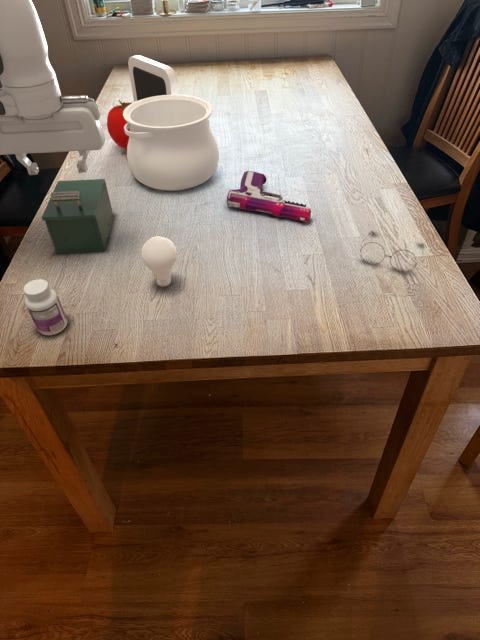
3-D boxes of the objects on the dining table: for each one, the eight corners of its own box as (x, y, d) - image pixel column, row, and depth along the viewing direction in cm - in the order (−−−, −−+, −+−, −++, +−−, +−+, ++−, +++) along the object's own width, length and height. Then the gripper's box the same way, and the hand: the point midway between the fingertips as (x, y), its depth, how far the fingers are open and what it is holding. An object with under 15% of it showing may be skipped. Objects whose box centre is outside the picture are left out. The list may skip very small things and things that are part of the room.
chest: (105, 251, 99) (95, 216, 93) (56, 253, 99) (43, 218, 92) (113, 215, 109) (105, 182, 103) (69, 217, 109) (58, 184, 103)
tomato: (154, 154, 133) (147, 107, 124) (112, 158, 131) (102, 111, 122) (152, 138, 141) (145, 93, 132) (112, 142, 139) (102, 97, 130)
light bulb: (180, 273, 93) (174, 228, 86) (181, 294, 89) (175, 248, 81) (148, 276, 93) (139, 230, 85) (147, 297, 88) (138, 251, 80)
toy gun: (322, 196, 114) (306, 228, 105) (244, 181, 120) (222, 210, 110) (324, 183, 112) (307, 214, 102) (244, 168, 117) (221, 196, 108)
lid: (94, 218, 92) (89, 197, 89) (42, 220, 92) (34, 199, 88) (105, 182, 103) (100, 162, 100) (58, 184, 103) (52, 164, 99)
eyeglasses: (369, 233, 103) (373, 213, 99) (425, 246, 99) (432, 227, 95) (355, 260, 96) (359, 240, 92) (415, 276, 92) (422, 256, 88)
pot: (169, 206, 112) (160, 139, 100) (111, 175, 124) (96, 112, 112) (239, 170, 125) (238, 107, 113) (180, 145, 137) (174, 86, 125)
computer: (168, 71, 118) (176, 69, 119) (125, 54, 130) (133, 52, 131) (176, 152, 133) (184, 150, 135) (138, 131, 145) (145, 128, 147)
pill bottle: (41, 316, 85) (23, 277, 78) (70, 314, 85) (54, 275, 78) (34, 337, 81) (15, 297, 74) (65, 335, 81) (48, 295, 74)
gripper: (98, 88, 80) (114, 162, 90) (-19, 93, 80) (11, 167, 89) (92, 101, 76) (110, 177, 86) (-31, 106, 75) (1, 182, 85)
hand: (59, 172), depth 88 cm, fingers open, 8 cm apart
